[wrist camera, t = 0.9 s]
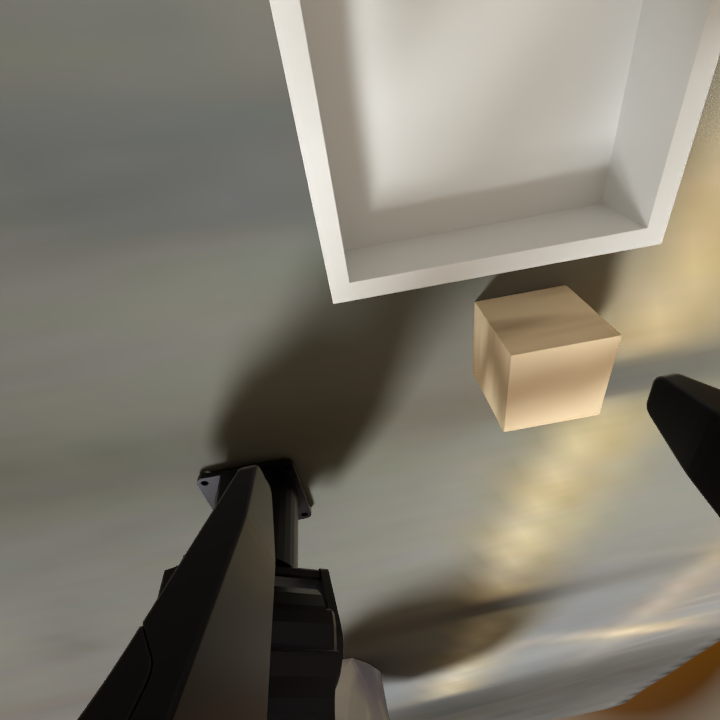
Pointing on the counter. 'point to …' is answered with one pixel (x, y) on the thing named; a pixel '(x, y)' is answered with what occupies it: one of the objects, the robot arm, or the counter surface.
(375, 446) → the counter surface
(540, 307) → the cube
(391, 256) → the tote
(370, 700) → the sculpture
